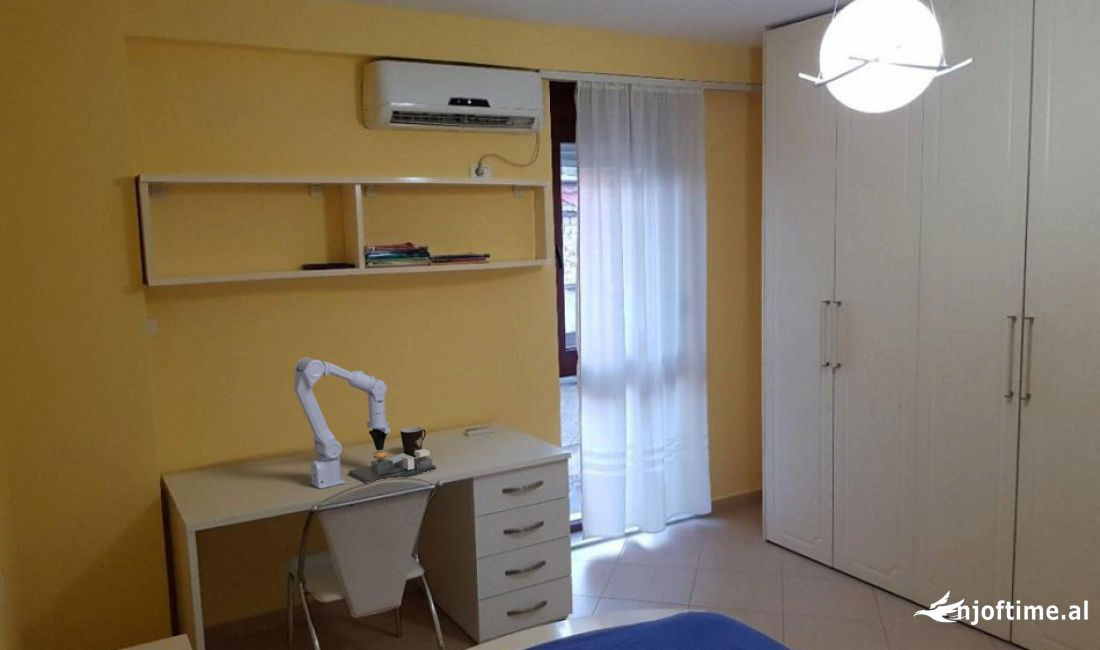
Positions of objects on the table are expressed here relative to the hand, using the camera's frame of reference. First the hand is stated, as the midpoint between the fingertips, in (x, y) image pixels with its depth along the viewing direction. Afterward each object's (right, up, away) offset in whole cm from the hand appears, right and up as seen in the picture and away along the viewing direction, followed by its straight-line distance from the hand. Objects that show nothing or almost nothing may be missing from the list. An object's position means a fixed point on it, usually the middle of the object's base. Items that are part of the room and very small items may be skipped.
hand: (379, 449), depth 295 cm
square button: (+15, -4, +1) cm, 16 cm away
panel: (+5, -8, -1) cm, 9 cm away
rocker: (+6, -4, +5) cm, 9 cm away
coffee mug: (+9, -5, +23) cm, 25 cm away
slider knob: (+11, -6, -3) cm, 13 cm away
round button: (0, -5, 0) cm, 5 cm away
